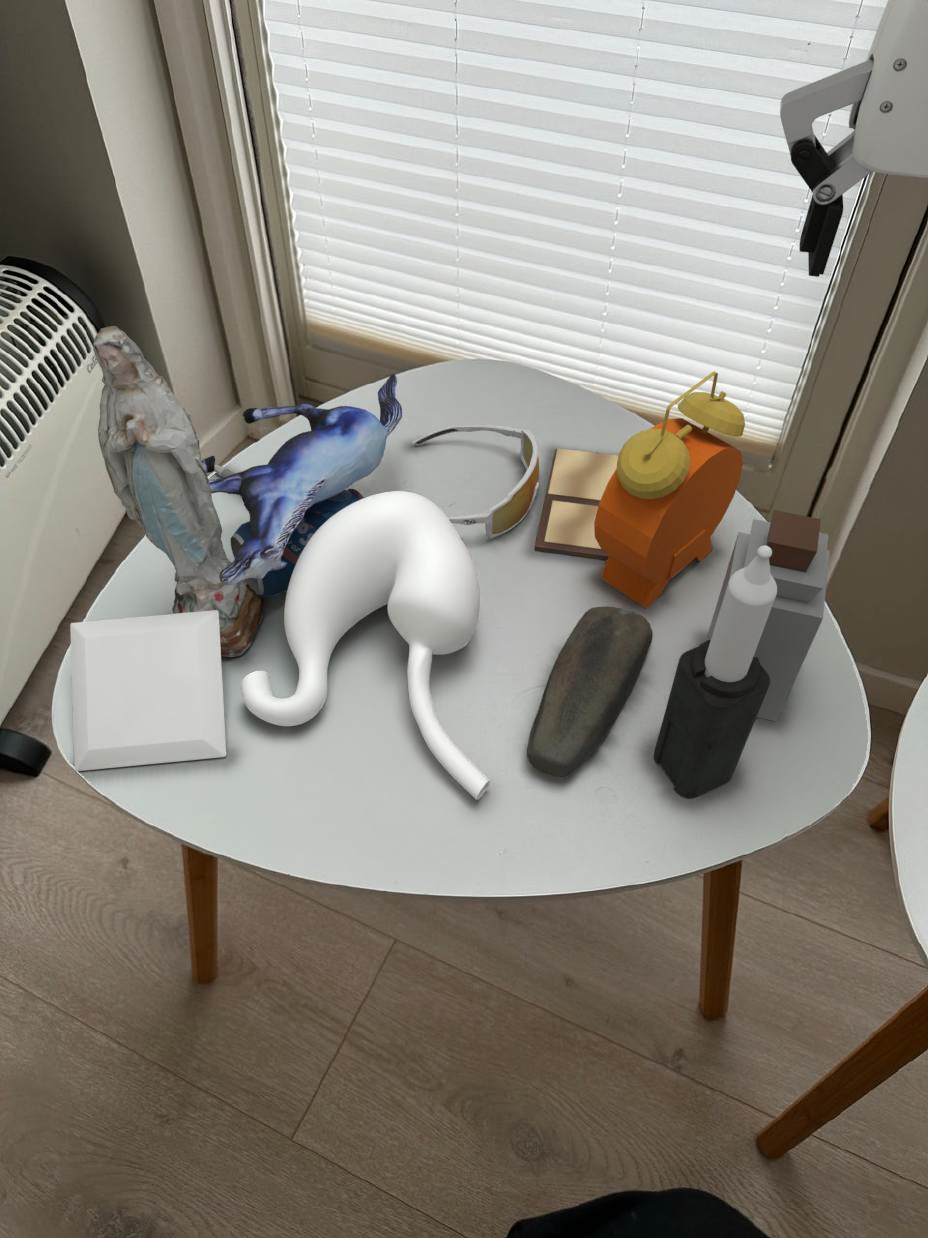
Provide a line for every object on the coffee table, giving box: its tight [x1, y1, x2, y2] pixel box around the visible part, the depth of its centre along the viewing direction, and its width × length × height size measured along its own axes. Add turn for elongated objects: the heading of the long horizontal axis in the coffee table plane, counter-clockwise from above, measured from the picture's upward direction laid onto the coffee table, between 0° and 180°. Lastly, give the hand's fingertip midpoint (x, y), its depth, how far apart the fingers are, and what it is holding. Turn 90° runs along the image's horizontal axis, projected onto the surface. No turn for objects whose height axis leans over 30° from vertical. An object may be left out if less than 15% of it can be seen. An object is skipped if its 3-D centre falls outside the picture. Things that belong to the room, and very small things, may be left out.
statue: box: [92, 325, 266, 658], centre depth 72 cm, size 8×7×30 cm
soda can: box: [229, 488, 365, 597], centre depth 85 cm, size 7×7×12 cm
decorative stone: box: [525, 605, 654, 778], centre depth 76 cm, size 17×6×4 cm, turn 154°
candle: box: [653, 546, 777, 799], centre depth 64 cm, size 5×5×25 cm
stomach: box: [240, 490, 491, 801], centre depth 76 cm, size 23×13×24 cm
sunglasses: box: [411, 424, 540, 538], centre depth 93 cm, size 14×15×5 cm
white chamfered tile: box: [69, 610, 227, 772], centre depth 77 cm, size 12×12×5 cm
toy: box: [201, 373, 403, 585], centre depth 82 cm, size 8×28×15 cm
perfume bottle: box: [705, 509, 831, 723], centre depth 72 cm, size 7×7×18 cm
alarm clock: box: [594, 370, 746, 610], centre depth 80 cm, size 13×6×20 cm, turn 135°
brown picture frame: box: [534, 447, 619, 561], centre depth 92 cm, size 7×14×1 cm, turn 168°
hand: (905, 272), depth 51 cm, fingers open, 9 cm apart
